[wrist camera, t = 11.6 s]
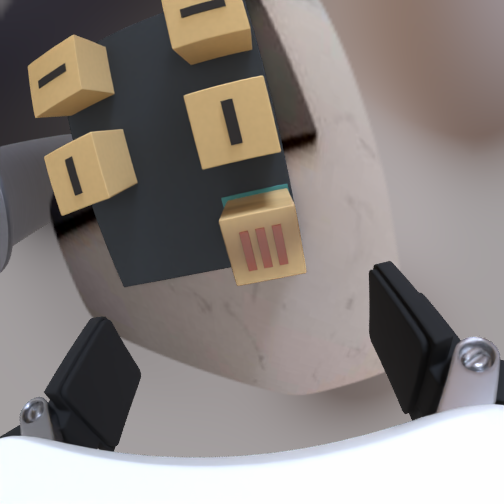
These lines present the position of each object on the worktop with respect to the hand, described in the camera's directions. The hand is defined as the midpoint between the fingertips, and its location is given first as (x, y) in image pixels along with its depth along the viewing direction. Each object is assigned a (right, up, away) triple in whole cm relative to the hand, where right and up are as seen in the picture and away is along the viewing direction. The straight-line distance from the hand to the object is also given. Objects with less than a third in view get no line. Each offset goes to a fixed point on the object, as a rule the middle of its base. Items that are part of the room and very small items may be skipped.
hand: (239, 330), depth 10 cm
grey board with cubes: (-5, +10, +9) cm, 15 cm away
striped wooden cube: (+1, +5, +11) cm, 12 cm away
